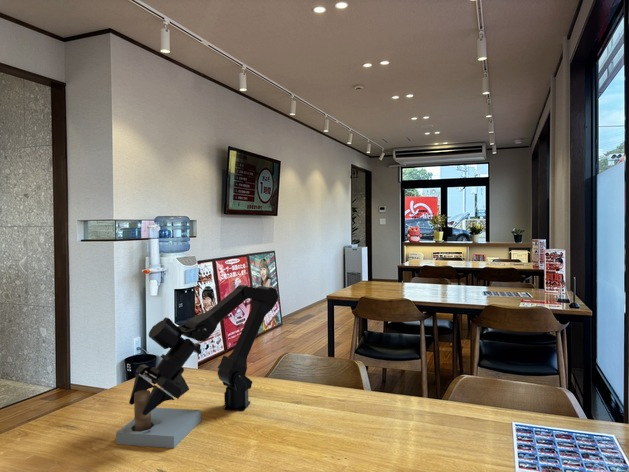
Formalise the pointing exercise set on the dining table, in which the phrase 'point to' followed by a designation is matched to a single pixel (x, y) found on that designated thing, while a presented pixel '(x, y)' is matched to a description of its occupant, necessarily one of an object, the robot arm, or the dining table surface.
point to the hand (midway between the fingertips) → (136, 409)
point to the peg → (139, 403)
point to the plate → (161, 428)
